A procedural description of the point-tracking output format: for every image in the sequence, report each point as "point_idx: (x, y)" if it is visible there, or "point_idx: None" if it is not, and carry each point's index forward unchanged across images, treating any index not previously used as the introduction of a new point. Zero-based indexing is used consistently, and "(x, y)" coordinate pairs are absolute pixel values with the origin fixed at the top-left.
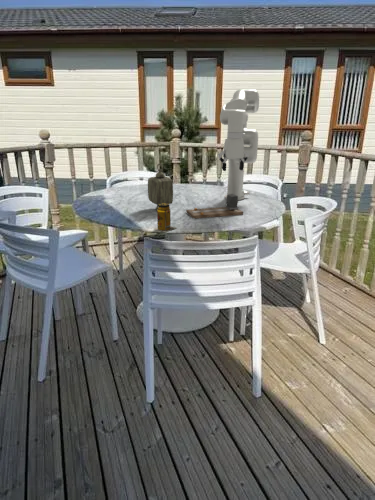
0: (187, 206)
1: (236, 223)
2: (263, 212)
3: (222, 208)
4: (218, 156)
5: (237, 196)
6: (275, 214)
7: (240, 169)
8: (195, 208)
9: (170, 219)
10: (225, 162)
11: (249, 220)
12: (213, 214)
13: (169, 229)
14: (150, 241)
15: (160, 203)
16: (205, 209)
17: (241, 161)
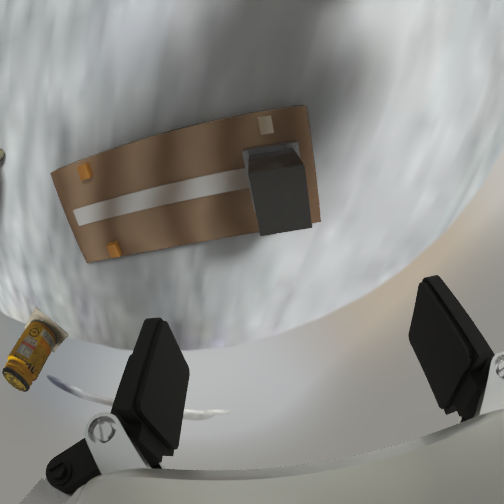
0: (63, 57)
1: (247, 322)
2: (420, 195)
3: (226, 147)
4: (37, 498)
5: (308, 227)
6: (444, 231)
7: (415, 313)
8: (81, 175)
9: (45, 355)
10: (161, 453)
11: (310, 296)
12: (164, 247)
13: (55, 342)
14: (51, 380)
15: (4, 374)
16: (130, 165)
17: (466, 401)
